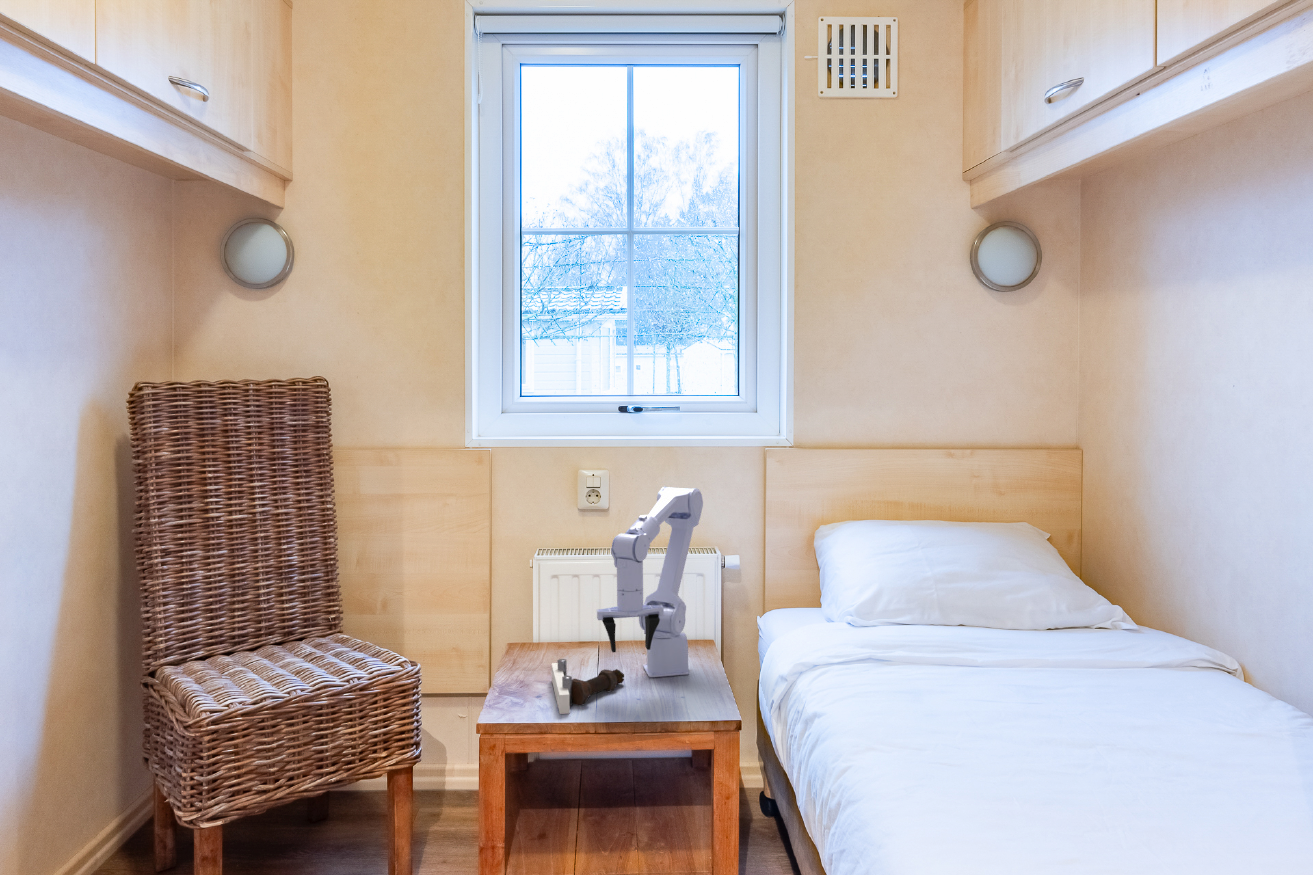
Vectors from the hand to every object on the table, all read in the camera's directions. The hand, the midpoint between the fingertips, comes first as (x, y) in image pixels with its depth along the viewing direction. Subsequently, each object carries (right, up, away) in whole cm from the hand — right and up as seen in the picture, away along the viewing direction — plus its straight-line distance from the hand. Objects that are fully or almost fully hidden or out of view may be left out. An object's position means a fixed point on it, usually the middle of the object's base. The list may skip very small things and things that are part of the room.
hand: (630, 649), depth 180 cm
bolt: (-7, -10, 0) cm, 12 cm away
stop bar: (-15, -10, -2) cm, 18 cm away
